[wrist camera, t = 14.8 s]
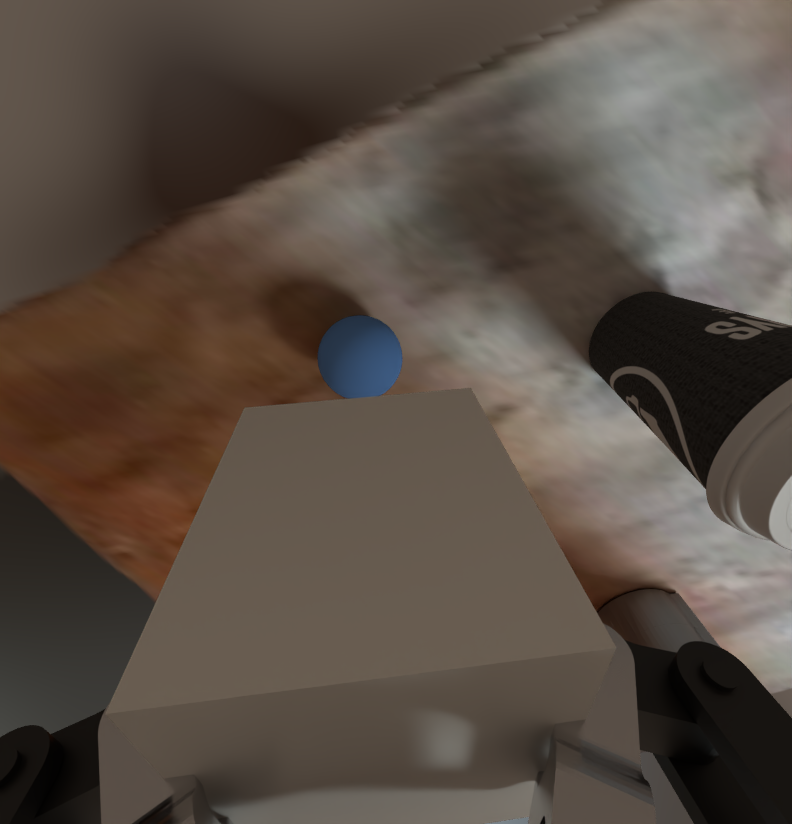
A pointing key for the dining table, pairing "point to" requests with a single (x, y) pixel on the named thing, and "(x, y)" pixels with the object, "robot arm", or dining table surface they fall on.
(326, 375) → the blue egg
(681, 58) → the dining table surface
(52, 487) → the dining table surface
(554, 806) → the robot arm
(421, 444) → the block
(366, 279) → the dining table surface
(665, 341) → the coffee cup
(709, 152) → the dining table surface
